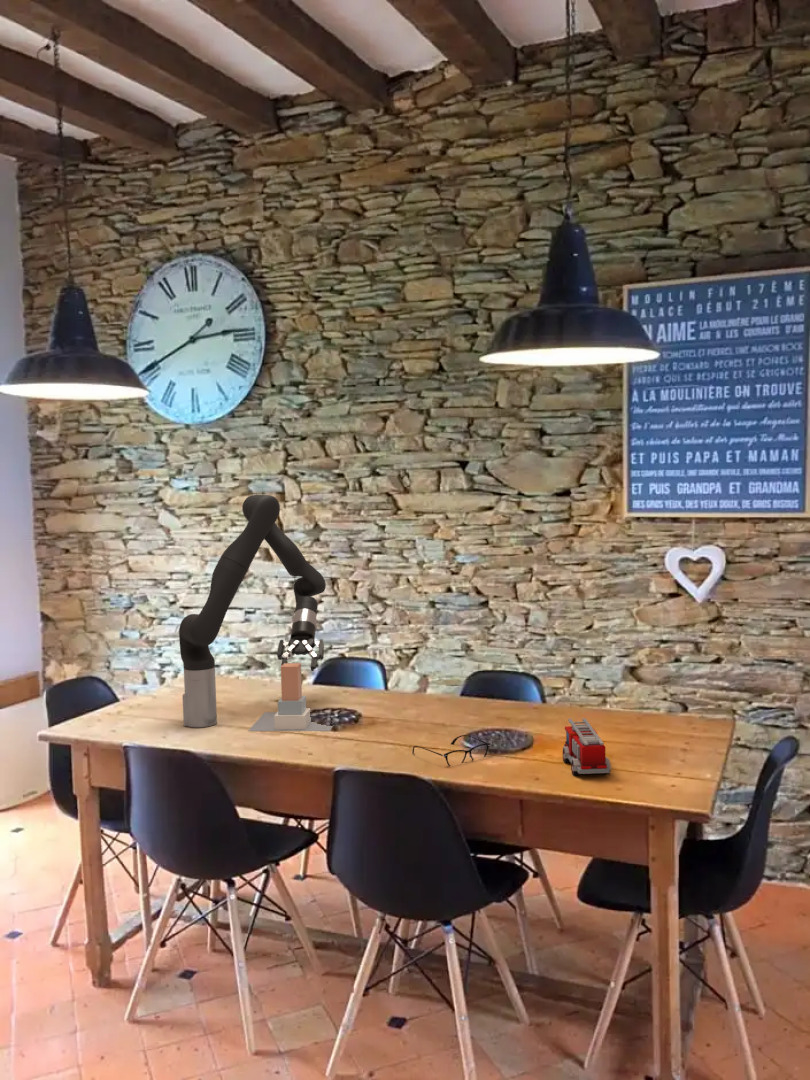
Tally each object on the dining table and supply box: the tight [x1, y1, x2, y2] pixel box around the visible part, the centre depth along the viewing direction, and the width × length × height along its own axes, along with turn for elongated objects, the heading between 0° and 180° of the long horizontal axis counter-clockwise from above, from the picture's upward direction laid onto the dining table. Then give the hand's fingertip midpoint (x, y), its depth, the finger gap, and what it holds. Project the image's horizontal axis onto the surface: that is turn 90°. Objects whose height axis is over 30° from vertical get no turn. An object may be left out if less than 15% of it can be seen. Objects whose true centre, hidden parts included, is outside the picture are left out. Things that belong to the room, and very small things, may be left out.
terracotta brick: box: [280, 662, 303, 701], centre depth 274 cm, size 5×5×10 cm
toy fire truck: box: [562, 718, 612, 776], centre depth 230 cm, size 9×19×10 cm, turn 2°
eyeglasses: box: [412, 734, 491, 766], centre depth 244 cm, size 16×16×4 cm
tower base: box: [274, 695, 311, 730], centre depth 274 cm, size 9×9×8 cm
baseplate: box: [247, 711, 334, 732], centre depth 279 cm, size 24×22×1 cm
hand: (298, 669), depth 284 cm, fingers open, 8 cm apart
